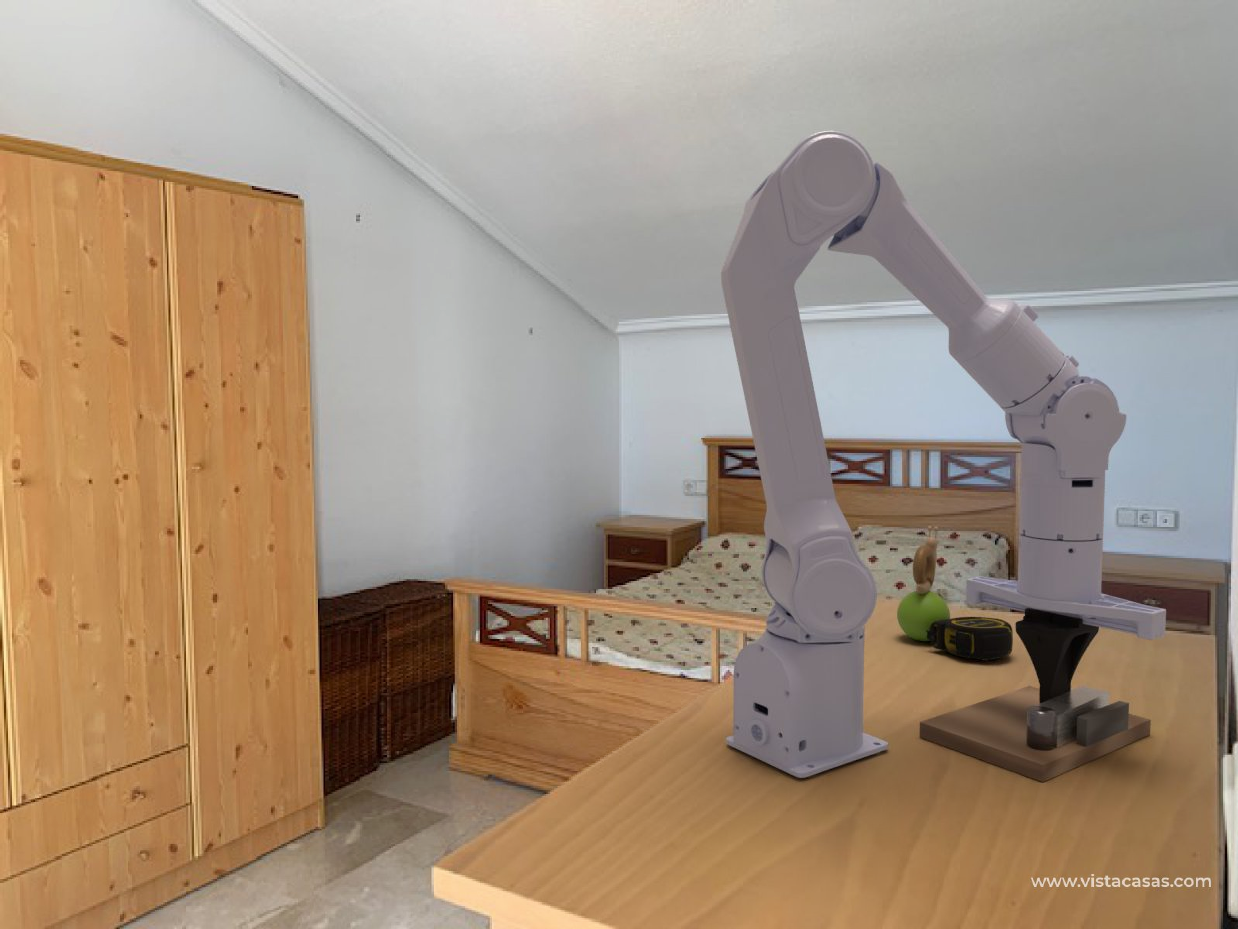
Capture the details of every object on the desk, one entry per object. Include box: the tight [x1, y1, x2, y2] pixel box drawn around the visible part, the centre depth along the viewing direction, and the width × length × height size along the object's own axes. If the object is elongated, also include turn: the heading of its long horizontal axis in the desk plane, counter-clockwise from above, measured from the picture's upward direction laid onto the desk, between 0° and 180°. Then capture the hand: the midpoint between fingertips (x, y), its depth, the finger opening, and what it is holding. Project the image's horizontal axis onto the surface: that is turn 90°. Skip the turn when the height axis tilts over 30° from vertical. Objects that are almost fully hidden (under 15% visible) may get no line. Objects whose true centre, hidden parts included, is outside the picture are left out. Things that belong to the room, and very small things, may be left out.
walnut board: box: [919, 685, 1152, 783], centre depth 70 cm, size 15×10×3 cm, turn 125°
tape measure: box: [926, 616, 1014, 661], centre depth 91 cm, size 7×7×4 cm
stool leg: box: [1026, 685, 1110, 750], centre depth 67 cm, size 9×2×3 cm, turn 128°
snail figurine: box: [896, 525, 951, 642], centre depth 97 cm, size 5×6×12 cm
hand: (1055, 711), depth 69 cm, fingers closed, pressing on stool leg
